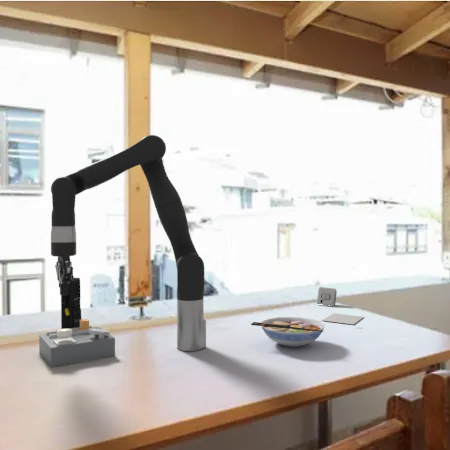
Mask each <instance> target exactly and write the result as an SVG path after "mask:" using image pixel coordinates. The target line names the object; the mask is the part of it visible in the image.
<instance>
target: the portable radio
mask: <svg viewBox="0 0 450 450" xmlns="http://www.w3.org/2000/svg"><path fill="white" fill-rule="evenodd" d="M60 284H61V283H59V282H58V288H60ZM60 313H61V314H60V315H61V317H60V318H61V320H60V321H61V322H60V325H61V326H60V327H61V328H60V329H71V328H78V327H80V320H81V319H82V309H81V278H80V277H74V271H73V272H72V277H71V282H69V283H68V295H67V296H62V295H60Z"/></svg>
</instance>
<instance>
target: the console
mask: <svg viewBox="0 0 450 450" xmlns="http://www.w3.org/2000/svg"><path fill="white" fill-rule="evenodd" d="M71 329H72V337H69V338H63V339H61V338H57V330H50V331H46V333H43V334H39V338H38V339H39V340H38V341H39V344H38V345H39V352H38V353H39V354H40V355H41V356H42V357H43V360H44V361H45V362H46V363H47V365H49V368H52V369H53V368H55V367H56V368H57V367H62V366H68V365H72V364H74V365H75V364H77V363H78V364H79V363H83V362H84V363H85V362H88V361H89V362H90V361H94V360H100V359H105V358H106V359H107V358H110V357H111V358H112V357H115V356H116V338H115V336H113V335H112V334H109V336H106V335H104V332H100V333H99V335H91V334H90V333H89V332H88V331H89V329H102V328H101V327H100V326H93V327H92V325H89V329H86V330H80V327H78V328H71Z"/></svg>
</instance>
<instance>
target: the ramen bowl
mask: <svg viewBox="0 0 450 450" xmlns="http://www.w3.org/2000/svg"><path fill="white" fill-rule="evenodd" d="M250 325H251V326H255V327H256V326H259V327H261V329H262V330H263V332H264V333H265V335H266V336H267V337H268V338H269V339H270V340H271V341H272V342H274V343H277V344H279V345H282V346H284V347H287V348H300V347H302V346H305V345H308V344H310V343H313V342H314V341H316V340H317V339H318V338H319V337H320V336H321V334H322V333H323V332H324V329H325V324H324V323H323V322H321V321H319V320H315V319H312V318H306V317H297V316H296V317H295V316H282V317H281V316H279V317H272V318H267V319H264V320H262V321H261V322H260V321H259V322H257V321H252V322H251V324H250Z"/></svg>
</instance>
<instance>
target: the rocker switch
mask: <svg viewBox="0 0 450 450" xmlns="http://www.w3.org/2000/svg"><path fill="white" fill-rule="evenodd" d="M88 332H89V333H90V334H91V335H99V333H100V332H104V335H106V336H109V334H110V333H111V332H110V331H109V330H108V329H104V328H101V329H89V331H88ZM110 335H111V334H110Z"/></svg>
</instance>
